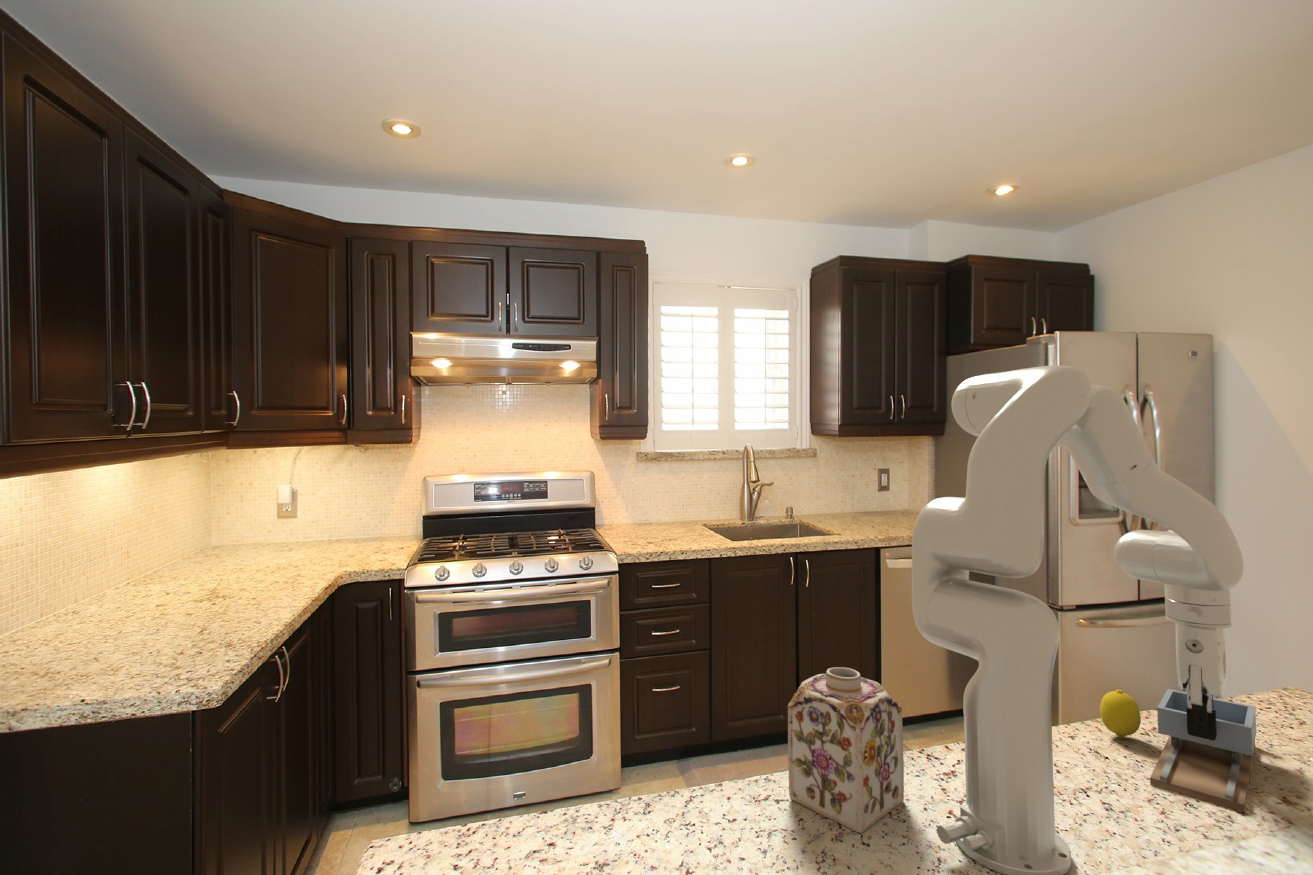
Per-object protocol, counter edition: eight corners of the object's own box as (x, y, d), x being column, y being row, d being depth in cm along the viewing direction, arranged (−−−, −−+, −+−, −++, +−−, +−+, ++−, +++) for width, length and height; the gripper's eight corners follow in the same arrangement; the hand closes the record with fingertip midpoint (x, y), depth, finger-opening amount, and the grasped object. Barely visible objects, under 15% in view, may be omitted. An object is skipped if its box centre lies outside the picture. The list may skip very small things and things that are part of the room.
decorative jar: (786, 799, 89) (784, 671, 90) (833, 771, 97) (830, 652, 97) (863, 837, 80) (860, 694, 81) (908, 802, 88) (904, 672, 88)
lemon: (1127, 730, 109) (1126, 684, 109) (1149, 745, 103) (1147, 696, 103) (1093, 730, 109) (1092, 683, 109) (1113, 744, 104) (1111, 695, 104)
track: (1244, 811, 84) (1243, 781, 84) (1150, 784, 91) (1149, 756, 92) (1255, 746, 102) (1254, 721, 103) (1175, 727, 110) (1175, 704, 110)
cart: (1252, 769, 92) (1251, 728, 92) (1158, 745, 99) (1157, 707, 100) (1256, 744, 99) (1255, 706, 99) (1168, 724, 107) (1167, 688, 107)
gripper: (1226, 627, 87) (1231, 762, 86) (1235, 607, 97) (1240, 727, 97) (1157, 617, 92) (1161, 744, 92) (1172, 599, 103) (1176, 713, 102)
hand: (1202, 735), depth 94 cm, fingers closed
